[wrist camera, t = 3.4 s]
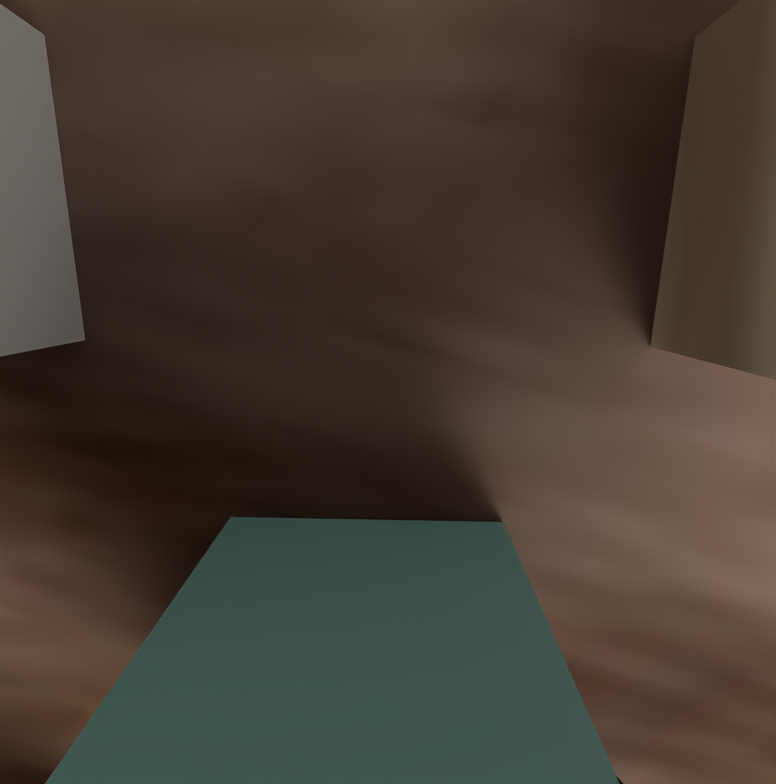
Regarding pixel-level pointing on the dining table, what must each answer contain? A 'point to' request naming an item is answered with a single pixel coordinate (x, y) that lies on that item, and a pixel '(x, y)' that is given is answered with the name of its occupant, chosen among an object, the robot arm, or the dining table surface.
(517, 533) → the dining table surface
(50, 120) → the grey plastic block
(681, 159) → the birch block
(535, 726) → the teal block
